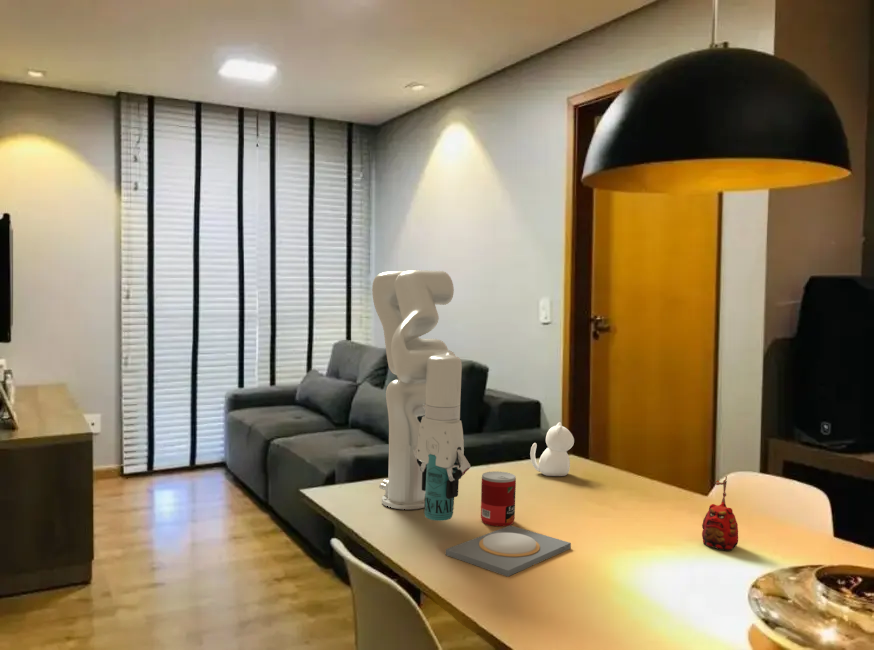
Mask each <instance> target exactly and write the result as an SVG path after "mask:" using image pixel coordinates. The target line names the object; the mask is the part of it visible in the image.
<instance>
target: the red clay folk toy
mask: <svg viewBox="0 0 874 650" xmlns="http://www.w3.org/2000/svg"><path fill="white" fill-rule="evenodd" d="M727 479H728V476H727V475H725V478H724V480H723V482H721V481H719V480H716V481H715V482H716V483H715V485H716V486H720V485H722V486H723V492H722V496H723V497H722V500H721V503H720V504H719V505H718V504H715V503H712V504H710V505H709V508H708V511H707V512H706V513H705V516H704V518H703V521H702V523H701V526H702V532H701V537H702V543H703V545H706V546H707V547H711V548H715V549H716V550H718V551H726V552H727V551H729V552H731V551H732V550H733V549H734V548H736V547H737V546H738V543H739V527H738V526H739V525H738V521H737V519H736V515H735V514H734V512H733V508H731V507H727V505H726V497H727V493H726V489H727V484H728V483H727V482H728V480H727Z"/></svg>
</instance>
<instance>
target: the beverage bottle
mask: <svg viewBox="0 0 874 650" xmlns="http://www.w3.org/2000/svg"><path fill="white" fill-rule="evenodd" d="M428 457H429V462H428V463H427V471H426V473H425V474H426V481H425V482H426V484H425V485H426V488H425V489H426V490H425V500H424V501H425V507H424V508H423V513H424V516H425V518H426V519H428V520H431V521H435V522H436V521H440V522H442V521H449V520H451V519H452V517H453V515H454V509H455V497H454V498H451V499H447V497H446V487H447V480H449V477H448V473H447V470H446V469H444V468H440V467H438V466H436V456H435V455H432V454H429V455H428ZM452 470H453V474H454V473H455V472H454V469H453V468H452Z"/></svg>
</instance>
